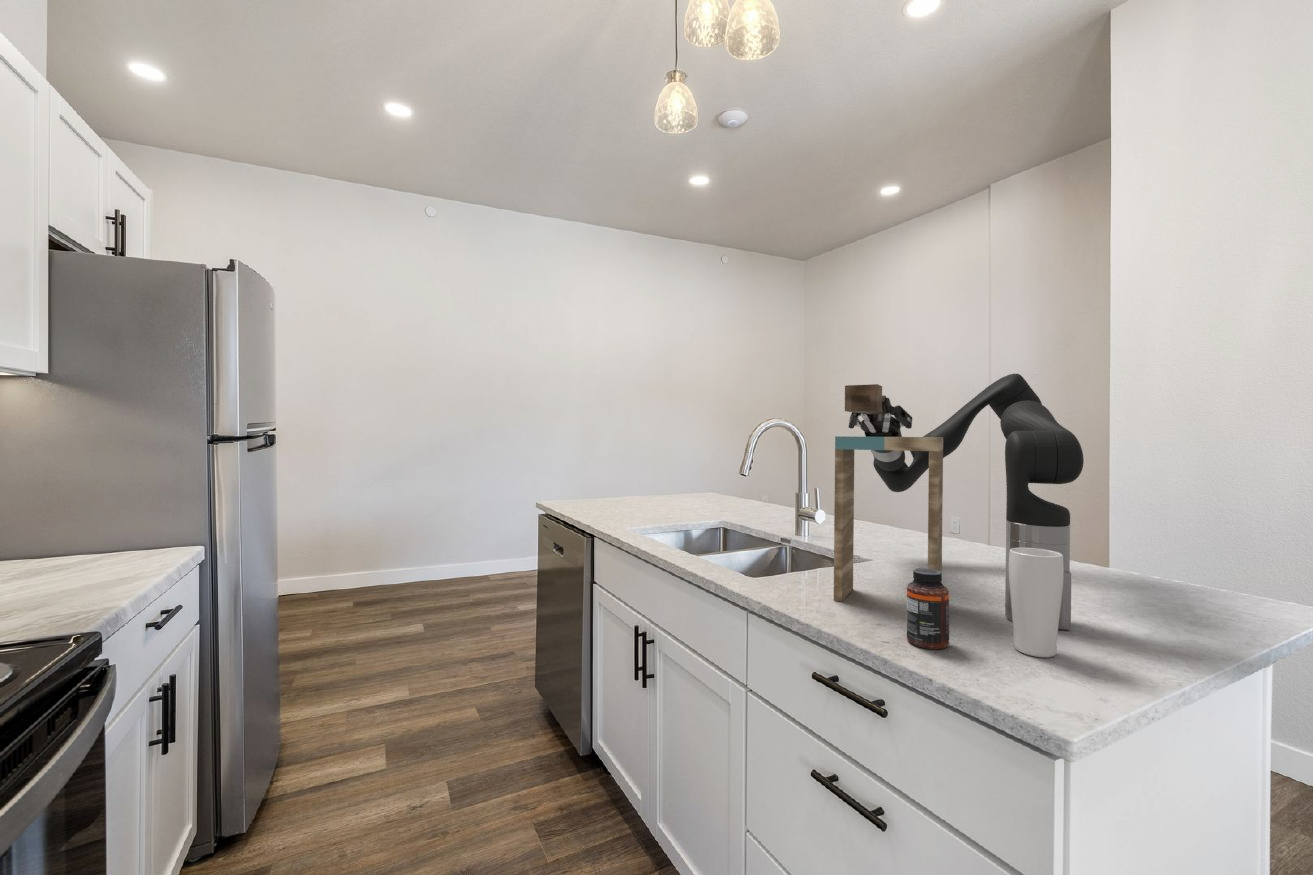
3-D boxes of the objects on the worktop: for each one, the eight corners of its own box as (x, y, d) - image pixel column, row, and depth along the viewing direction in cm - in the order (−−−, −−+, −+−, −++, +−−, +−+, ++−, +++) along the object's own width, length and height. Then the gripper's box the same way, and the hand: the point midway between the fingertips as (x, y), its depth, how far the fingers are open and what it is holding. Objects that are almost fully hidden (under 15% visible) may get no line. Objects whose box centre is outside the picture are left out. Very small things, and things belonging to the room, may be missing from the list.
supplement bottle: (939, 637, 89) (940, 566, 89) (955, 651, 83) (956, 576, 83) (900, 635, 89) (901, 565, 89) (914, 650, 83) (915, 574, 83)
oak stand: (941, 602, 107) (943, 437, 107) (936, 616, 99) (938, 437, 99) (845, 588, 117) (847, 436, 117) (833, 600, 108) (835, 436, 108)
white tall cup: (1064, 664, 78) (1066, 558, 78) (1007, 654, 82) (1009, 553, 82) (1060, 649, 84) (1061, 550, 84) (1007, 640, 88) (1008, 545, 88)
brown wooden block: (892, 413, 120) (892, 390, 120) (877, 410, 105) (877, 384, 105) (863, 414, 123) (863, 391, 123) (844, 411, 108) (844, 385, 108)
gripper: (916, 454, 125) (907, 413, 112) (851, 453, 132) (836, 414, 119) (919, 426, 128) (910, 383, 115) (855, 426, 135) (840, 385, 122)
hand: (872, 399), depth 117 cm, fingers closed on brown wooden block, 3 cm apart
